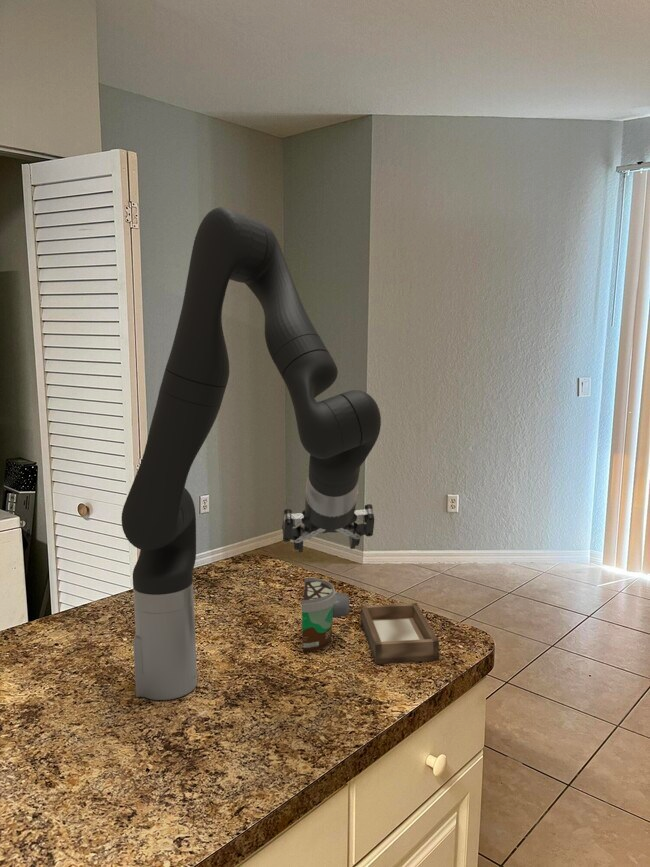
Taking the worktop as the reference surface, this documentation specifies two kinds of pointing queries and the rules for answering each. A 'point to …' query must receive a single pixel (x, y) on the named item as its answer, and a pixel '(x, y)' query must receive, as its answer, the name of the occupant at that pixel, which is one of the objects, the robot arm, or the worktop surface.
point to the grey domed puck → (341, 605)
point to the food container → (317, 613)
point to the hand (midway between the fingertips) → (325, 545)
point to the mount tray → (399, 633)
